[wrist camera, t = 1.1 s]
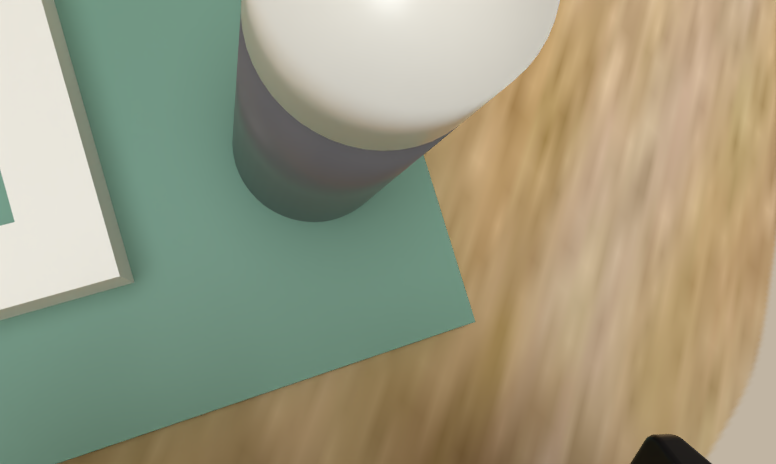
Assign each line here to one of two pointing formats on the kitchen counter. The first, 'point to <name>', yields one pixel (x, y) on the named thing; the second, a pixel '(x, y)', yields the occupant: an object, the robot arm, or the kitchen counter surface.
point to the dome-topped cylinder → (365, 89)
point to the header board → (174, 237)
